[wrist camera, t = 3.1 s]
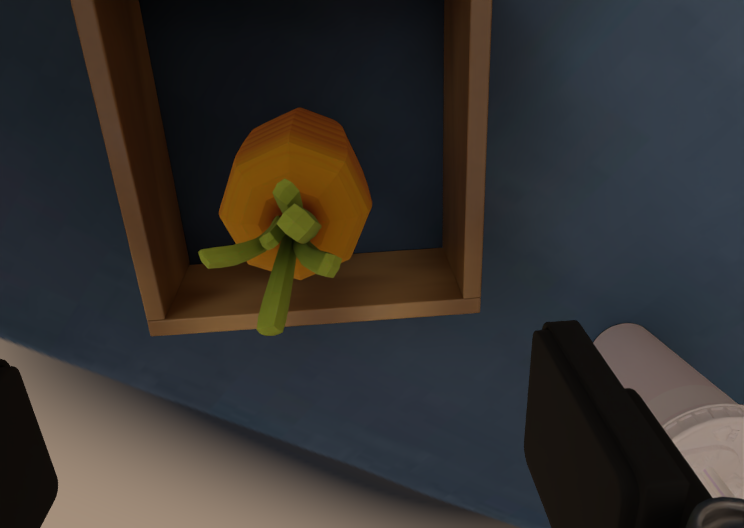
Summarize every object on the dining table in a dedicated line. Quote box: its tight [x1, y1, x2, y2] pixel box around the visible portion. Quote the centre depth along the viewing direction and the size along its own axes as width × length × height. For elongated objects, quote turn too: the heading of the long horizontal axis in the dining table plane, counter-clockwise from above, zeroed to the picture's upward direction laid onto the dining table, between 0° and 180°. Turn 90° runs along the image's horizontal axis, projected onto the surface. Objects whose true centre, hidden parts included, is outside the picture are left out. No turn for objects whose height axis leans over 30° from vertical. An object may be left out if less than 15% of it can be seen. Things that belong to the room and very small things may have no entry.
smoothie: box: [593, 323, 744, 499], centre depth 30 cm, size 6×6×14 cm
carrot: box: [198, 107, 372, 336], centre depth 22 cm, size 5×5×15 cm
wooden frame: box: [70, 0, 492, 336], centre depth 27 cm, size 15×15×6 cm
